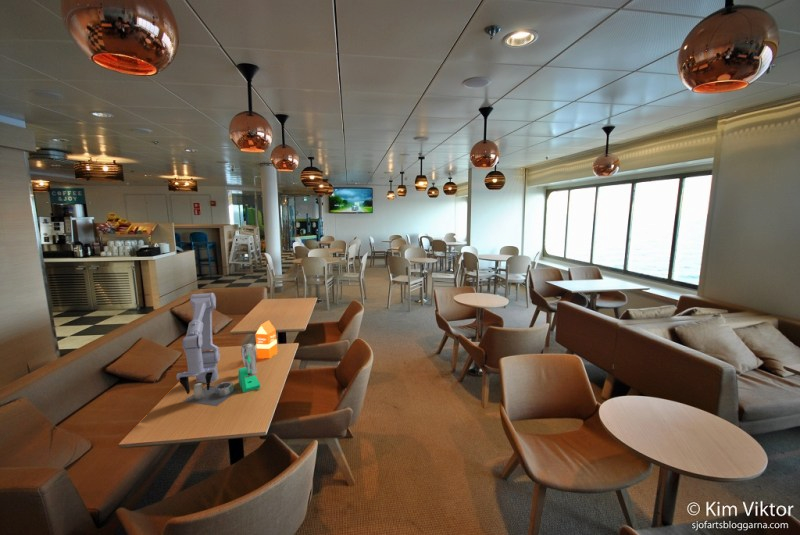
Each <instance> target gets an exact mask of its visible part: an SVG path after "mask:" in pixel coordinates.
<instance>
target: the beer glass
mask: <svg viewBox="0 0 800 535" xmlns="http://www.w3.org/2000/svg"><path fill="white" fill-rule="evenodd" d="M240 347H241V359H242V362H243V367H247V370H248V376H247V377H250V376H254V375H255V376H256V374H257V373H258V369H257V358H258V356H257V347H256V343H245V344H243V345H241V346H240Z"/></svg>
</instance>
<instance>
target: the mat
mask: <svg viewBox="0 0 800 535" xmlns="http://www.w3.org/2000/svg"><path fill="white" fill-rule="evenodd" d="M215 386H216V385H210V388H209V390H207V386H205V387H203V391H204V398H202V399H200V400H195V397H194V394H192V395H190V396H189V397H187V398H186V399H184V400H183V402H187V403H192V404H198V405H204V406H206V405H207V406H211V407H212V406H213V407H218V406H219V405H221V404H222V403H223V402H225V401H226V400H228V399H229V398H230V397H232V396H234V395H235V394H236V393H238V392H239V391H241V389H237V388H234V391H233V393H232V394H230V395H228V396H225V397H217V396H216V395H215Z"/></svg>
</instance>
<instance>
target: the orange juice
mask: <svg viewBox="0 0 800 535" xmlns="http://www.w3.org/2000/svg"><path fill="white" fill-rule="evenodd" d="M254 334H255V342H256V343H255V346H256V353H257V359H264V358H270V359H271V358H273V357H274V356H275V355H277V354H278V353H277V352H278V340H277V332H276V328H275V326H274V325H273V324H272V323H271V321H270V320H267V321H265V322H264V323H261V324H260V326H259V328H258V329H257V331H256V333H254ZM273 355H274V356H273ZM272 356H273V357H272Z"/></svg>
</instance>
